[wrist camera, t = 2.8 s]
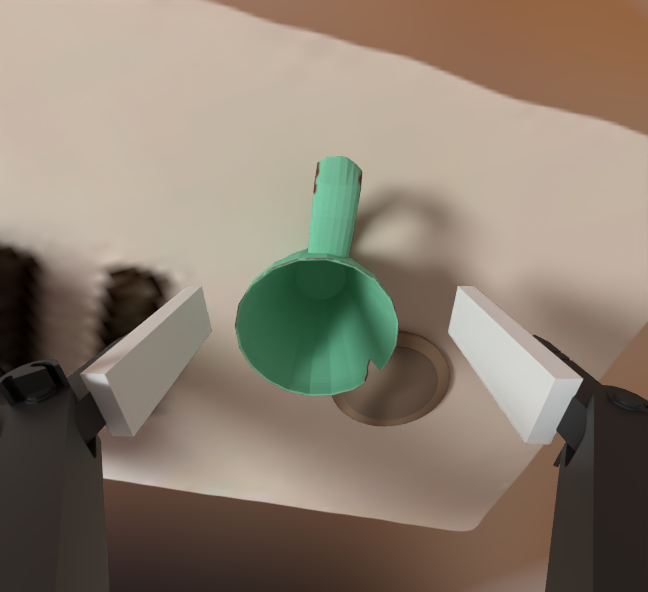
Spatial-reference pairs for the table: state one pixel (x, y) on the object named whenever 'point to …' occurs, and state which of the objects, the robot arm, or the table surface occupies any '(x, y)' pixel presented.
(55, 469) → the robot arm
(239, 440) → the table surface
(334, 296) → the mug
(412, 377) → the plate
